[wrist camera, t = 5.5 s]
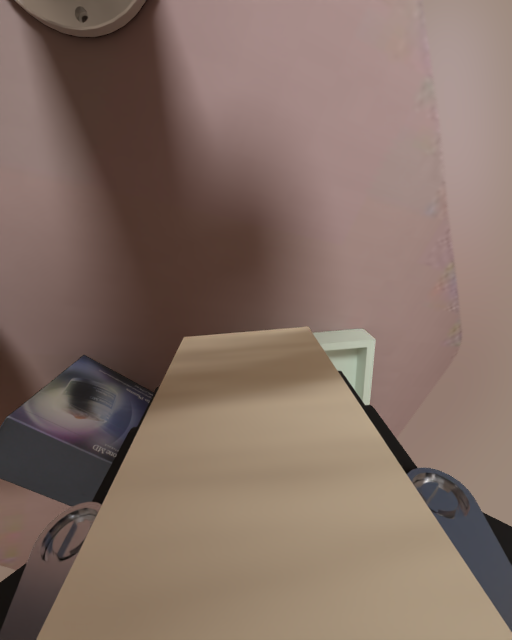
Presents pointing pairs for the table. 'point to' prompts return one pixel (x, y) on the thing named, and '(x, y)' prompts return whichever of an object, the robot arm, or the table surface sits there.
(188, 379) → the block
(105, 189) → the table surface
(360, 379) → the tray
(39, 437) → the small box
